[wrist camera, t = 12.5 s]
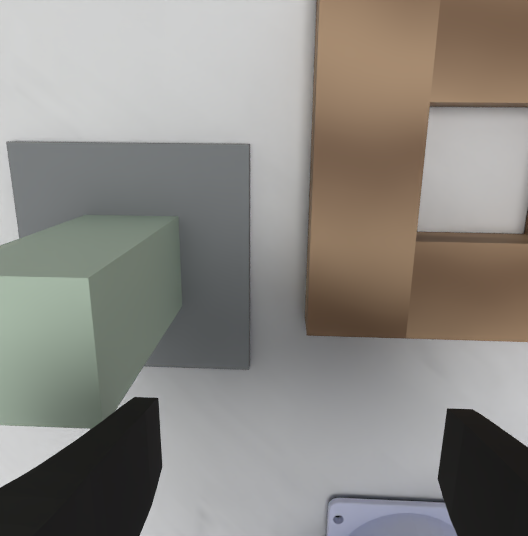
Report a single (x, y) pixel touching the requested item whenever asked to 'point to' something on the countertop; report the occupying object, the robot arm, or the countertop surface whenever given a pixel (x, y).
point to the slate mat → (159, 204)
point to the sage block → (83, 315)
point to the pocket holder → (407, 170)
